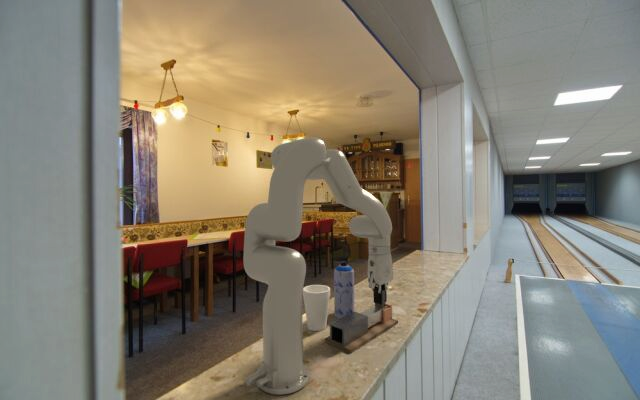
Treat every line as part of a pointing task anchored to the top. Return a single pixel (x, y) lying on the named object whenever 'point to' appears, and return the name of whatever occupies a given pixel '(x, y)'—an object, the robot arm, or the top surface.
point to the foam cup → (316, 306)
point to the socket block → (387, 313)
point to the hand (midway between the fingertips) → (380, 301)
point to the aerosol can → (343, 290)
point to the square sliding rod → (376, 311)
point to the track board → (365, 336)
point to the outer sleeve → (348, 328)
